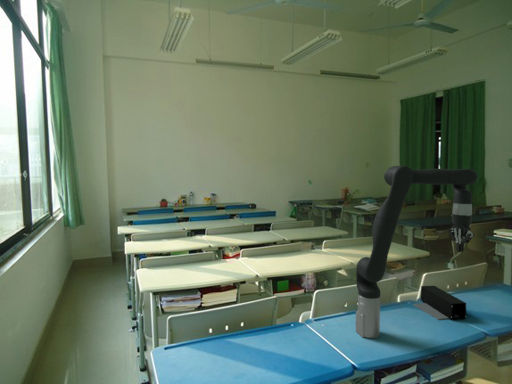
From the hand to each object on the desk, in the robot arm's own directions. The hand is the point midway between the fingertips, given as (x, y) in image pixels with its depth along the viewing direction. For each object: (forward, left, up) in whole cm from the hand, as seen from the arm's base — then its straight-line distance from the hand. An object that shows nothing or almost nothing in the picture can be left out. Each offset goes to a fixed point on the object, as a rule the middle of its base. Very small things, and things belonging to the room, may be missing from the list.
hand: (459, 251), depth 155 cm
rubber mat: (+3, +17, -35) cm, 39 cm away
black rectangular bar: (+6, +5, -31) cm, 31 cm away
